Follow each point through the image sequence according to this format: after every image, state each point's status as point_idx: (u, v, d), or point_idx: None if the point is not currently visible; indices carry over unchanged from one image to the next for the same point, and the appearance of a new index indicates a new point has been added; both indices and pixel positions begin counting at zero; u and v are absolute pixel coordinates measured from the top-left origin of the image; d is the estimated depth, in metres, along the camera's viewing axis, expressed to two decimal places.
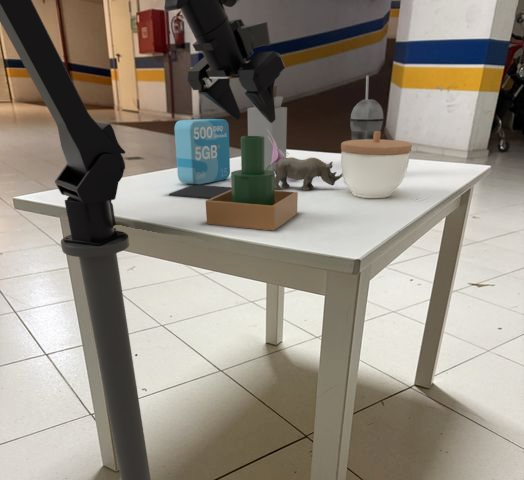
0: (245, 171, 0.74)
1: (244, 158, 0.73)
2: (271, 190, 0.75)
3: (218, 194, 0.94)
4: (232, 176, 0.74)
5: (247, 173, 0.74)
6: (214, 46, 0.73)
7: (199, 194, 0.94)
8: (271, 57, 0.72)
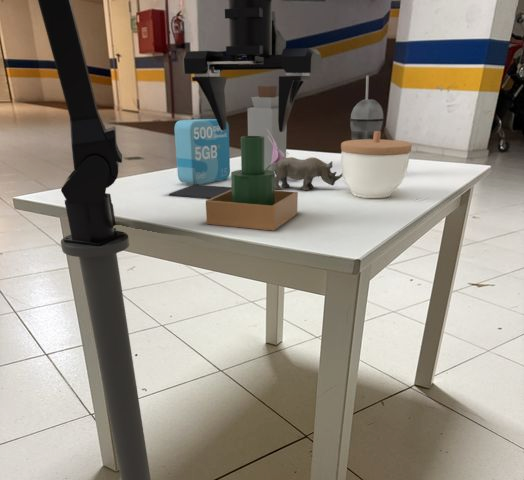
0: (245, 171, 0.74)
1: (244, 158, 0.73)
2: (271, 190, 0.75)
3: (218, 194, 0.94)
4: (232, 176, 0.74)
5: (247, 173, 0.74)
6: (260, 14, 0.63)
7: (199, 194, 0.94)
8: (317, 51, 0.66)
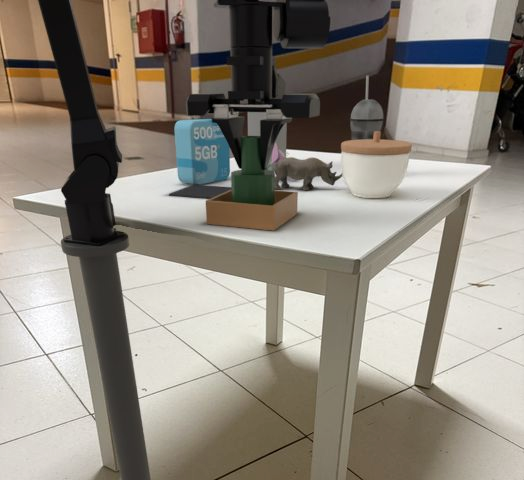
0: (245, 171, 0.74)
1: (244, 158, 0.73)
2: (271, 190, 0.75)
3: (218, 194, 0.94)
4: (232, 176, 0.74)
5: (247, 173, 0.74)
6: (261, 62, 0.65)
7: (199, 194, 0.94)
8: (315, 96, 0.68)
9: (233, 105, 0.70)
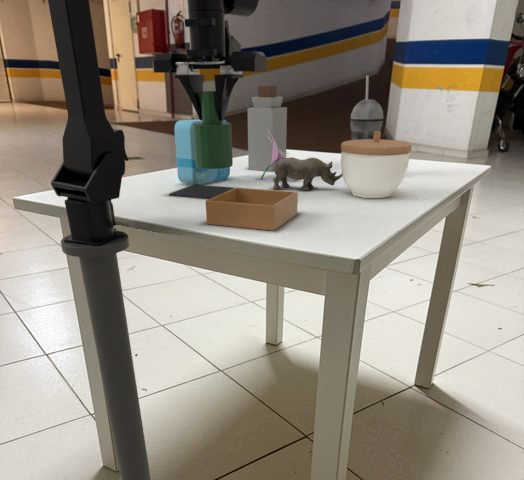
0: (204, 121, 0.85)
1: (203, 110, 0.84)
2: (227, 138, 0.86)
3: (218, 194, 0.94)
4: (193, 126, 0.85)
5: (206, 123, 0.85)
6: (213, 23, 0.77)
7: (199, 194, 0.94)
8: (261, 53, 0.79)
9: (192, 62, 0.81)
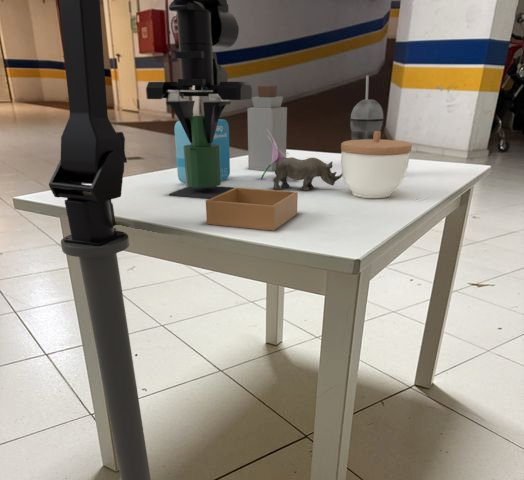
0: (194, 144, 0.92)
1: (193, 133, 0.91)
2: (216, 160, 0.92)
3: (218, 194, 0.94)
4: (184, 148, 0.92)
5: (196, 146, 0.91)
6: (202, 56, 0.83)
7: (199, 194, 0.94)
8: (247, 83, 0.86)
9: (183, 90, 0.88)
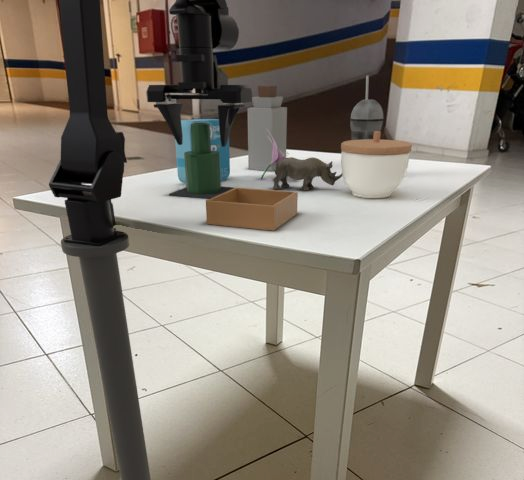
0: (195, 151, 0.92)
1: (193, 140, 0.91)
2: (216, 166, 0.93)
3: (218, 194, 0.94)
4: (184, 155, 0.93)
5: (196, 153, 0.92)
6: (202, 59, 0.83)
7: (199, 194, 0.94)
8: (247, 86, 0.86)
9: (183, 93, 0.88)
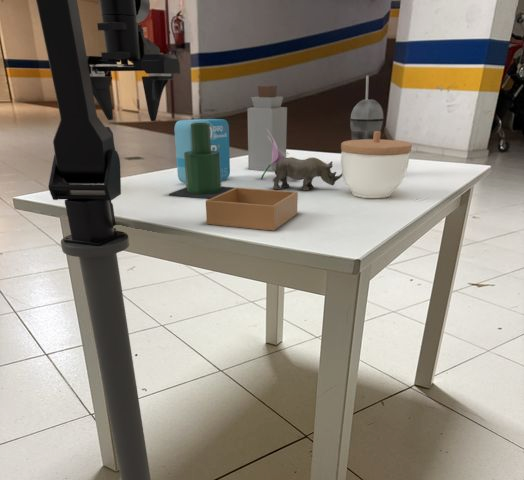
0: (195, 151, 0.92)
1: (193, 140, 0.91)
2: (216, 166, 0.93)
3: (218, 194, 0.94)
4: (184, 155, 0.93)
5: (196, 153, 0.92)
6: (123, 27, 0.80)
7: (199, 194, 0.94)
8: (173, 56, 0.83)
9: (108, 65, 0.84)
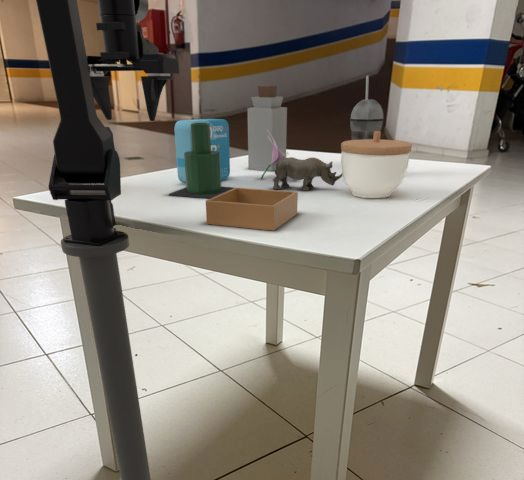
0: (195, 151, 0.92)
1: (193, 140, 0.91)
2: (216, 166, 0.93)
3: (218, 194, 0.94)
4: (184, 155, 0.93)
5: (196, 153, 0.92)
6: (122, 27, 0.80)
7: (199, 194, 0.94)
8: (172, 56, 0.83)
9: (107, 65, 0.84)
